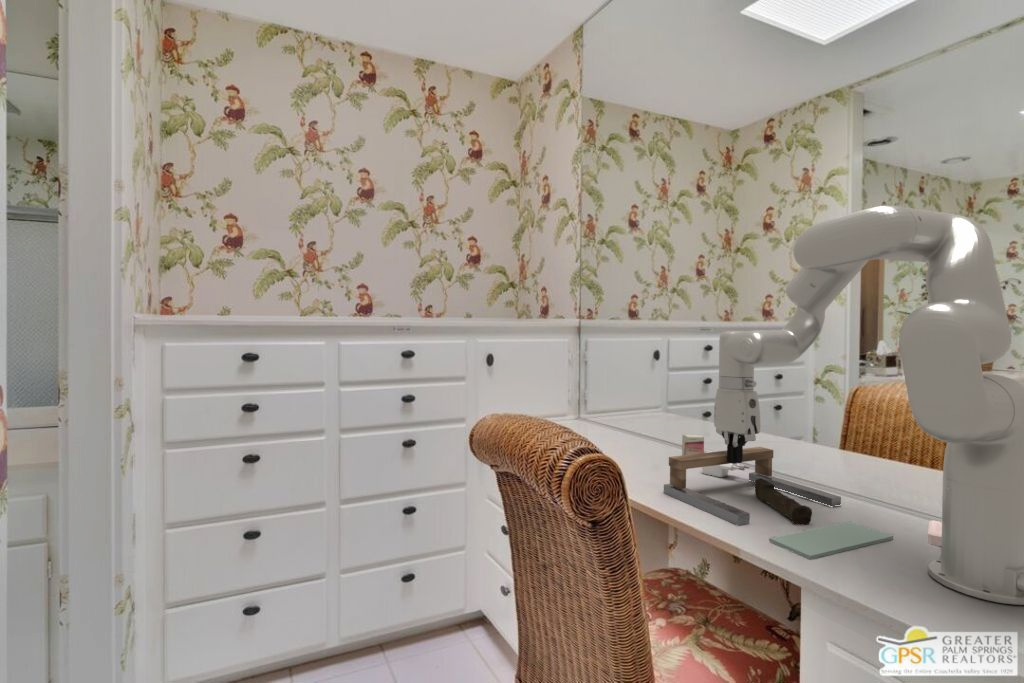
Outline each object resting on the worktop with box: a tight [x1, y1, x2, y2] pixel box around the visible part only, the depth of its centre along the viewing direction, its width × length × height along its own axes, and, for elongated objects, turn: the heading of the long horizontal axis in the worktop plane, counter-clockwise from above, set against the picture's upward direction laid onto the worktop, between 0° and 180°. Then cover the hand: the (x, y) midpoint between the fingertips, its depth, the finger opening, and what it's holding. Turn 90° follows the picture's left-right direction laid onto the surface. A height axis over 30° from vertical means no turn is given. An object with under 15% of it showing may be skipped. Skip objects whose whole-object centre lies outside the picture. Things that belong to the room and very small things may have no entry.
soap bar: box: [927, 519, 942, 548], centre depth 95 cm, size 5×9×2 cm, turn 140°
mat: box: [768, 521, 894, 560], centre depth 95 cm, size 8×22×1 cm, turn 113°
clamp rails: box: [663, 471, 842, 526], centre depth 118 cm, size 22×30×2 cm
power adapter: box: [701, 450, 750, 478], centre depth 136 cm, size 11×5×6 cm, turn 43°
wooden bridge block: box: [668, 446, 774, 489], centre depth 125 cm, size 4×29×6 cm, turn 113°
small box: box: [681, 433, 705, 456], centre depth 151 cm, size 5×4×8 cm
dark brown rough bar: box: [754, 478, 813, 526], centre depth 112 cm, size 19×4×5 cm, turn 179°
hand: (734, 462), depth 122 cm, fingers closed
